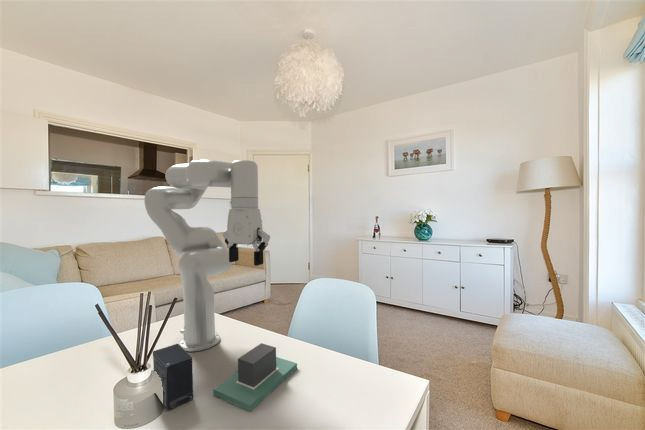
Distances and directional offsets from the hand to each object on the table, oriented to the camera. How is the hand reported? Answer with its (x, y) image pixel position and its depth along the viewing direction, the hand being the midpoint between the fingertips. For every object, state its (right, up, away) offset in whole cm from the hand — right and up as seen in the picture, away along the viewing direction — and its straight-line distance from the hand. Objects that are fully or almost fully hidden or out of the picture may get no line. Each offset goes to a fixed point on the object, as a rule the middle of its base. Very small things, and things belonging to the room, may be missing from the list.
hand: (246, 263), depth 83 cm
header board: (+5, -30, -7) cm, 31 cm away
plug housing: (+5, -29, -7) cm, 30 cm away
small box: (-15, -31, -12) cm, 36 cm away
